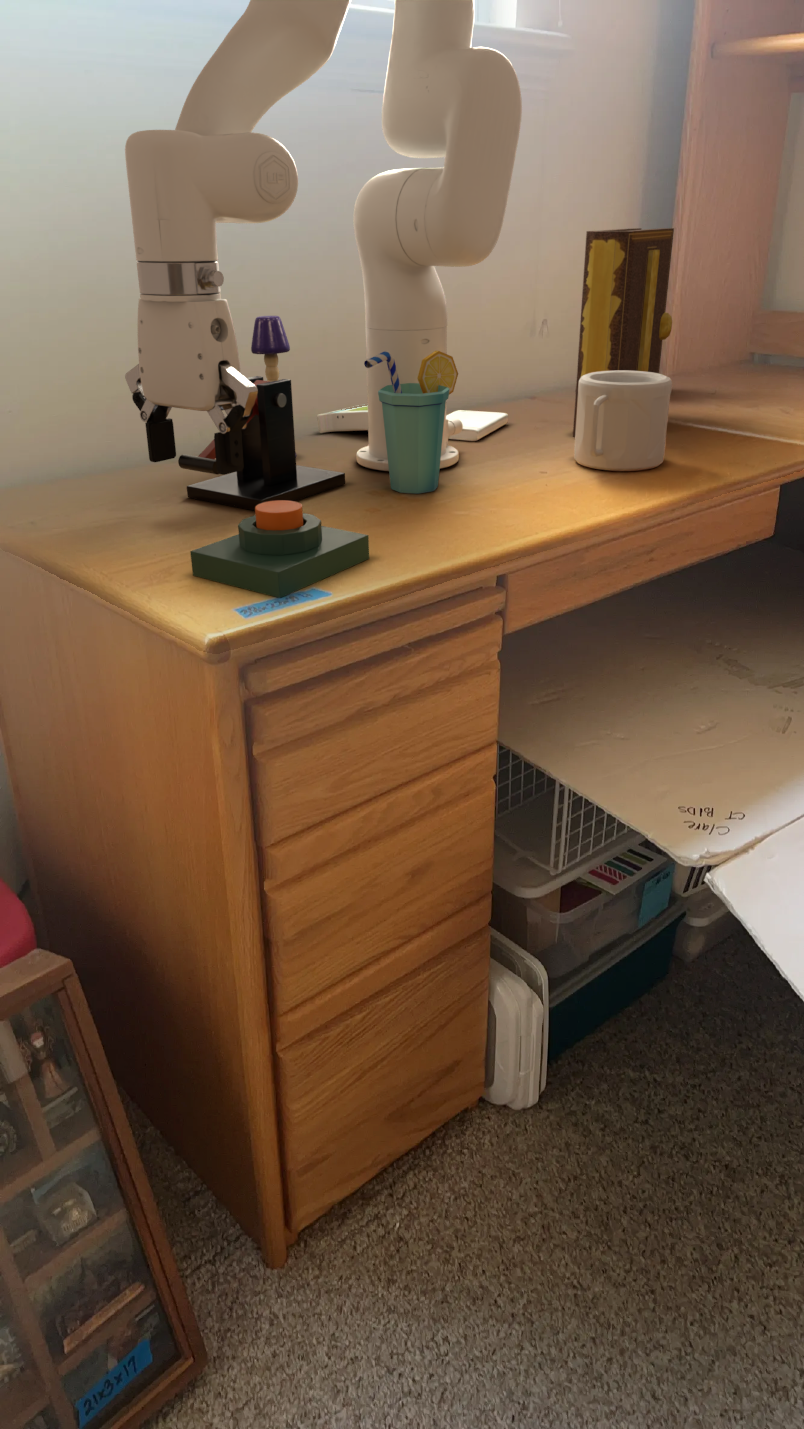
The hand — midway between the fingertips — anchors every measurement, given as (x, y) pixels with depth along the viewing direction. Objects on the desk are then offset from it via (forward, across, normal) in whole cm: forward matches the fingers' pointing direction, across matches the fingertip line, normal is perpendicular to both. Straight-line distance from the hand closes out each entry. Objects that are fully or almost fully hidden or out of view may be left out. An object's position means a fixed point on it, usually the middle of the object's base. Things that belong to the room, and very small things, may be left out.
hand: (196, 465), depth 100 cm
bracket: (+5, 0, -10) cm, 11 cm away
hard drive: (+4, -1, -50) cm, 50 cm away
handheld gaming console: (+2, +8, -38) cm, 39 cm away
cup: (+4, -13, -19) cm, 24 cm away
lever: (-2, 0, -6) cm, 6 cm away
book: (+4, -17, -65) cm, 68 cm away
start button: (+1, -19, +9) cm, 21 cm away
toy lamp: (+4, +10, -23) cm, 26 cm away
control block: (+5, -19, +9) cm, 22 cm away
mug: (+4, -27, -42) cm, 50 cm away
